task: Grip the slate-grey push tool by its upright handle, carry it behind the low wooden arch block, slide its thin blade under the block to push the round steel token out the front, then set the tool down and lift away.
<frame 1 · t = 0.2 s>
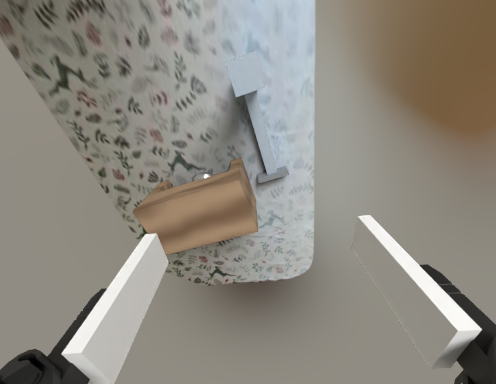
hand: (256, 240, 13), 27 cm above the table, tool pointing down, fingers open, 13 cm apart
steel token: (205, 182, 41), on the table
push tool: (246, 81, 32), on the table
wooden arch block: (208, 191, 42), on the table
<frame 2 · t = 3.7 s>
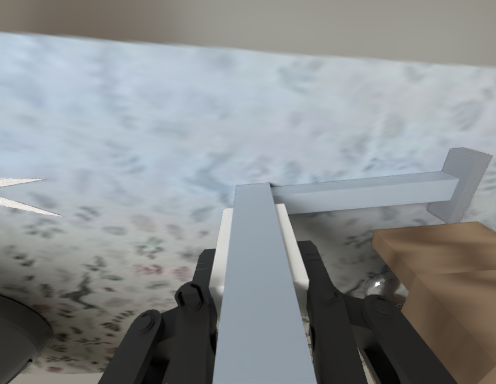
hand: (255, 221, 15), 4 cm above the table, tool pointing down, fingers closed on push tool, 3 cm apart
steel token: (383, 283, 24), on the table
push tool: (253, 198, 18), on the table, touching gripper
wooden arch block: (401, 284, 24), on the table
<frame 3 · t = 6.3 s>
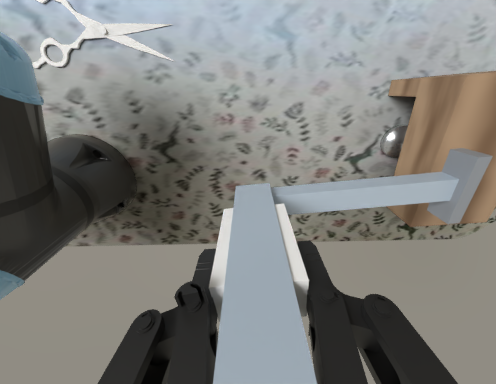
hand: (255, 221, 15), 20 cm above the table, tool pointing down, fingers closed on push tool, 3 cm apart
scissors: (102, 33, 26), on the table
steel token: (395, 140, 32), on the table
push tool: (254, 198, 18), point 17 cm above the table, touching gripper
wooden arch block: (408, 139, 32), on the table
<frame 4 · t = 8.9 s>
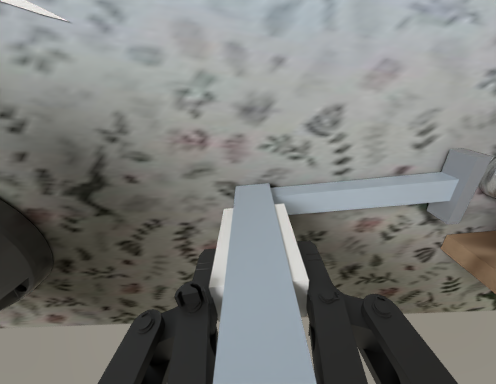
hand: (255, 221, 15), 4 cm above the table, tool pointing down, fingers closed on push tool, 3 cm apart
push tool: (253, 199, 18), on the table, touching gripper
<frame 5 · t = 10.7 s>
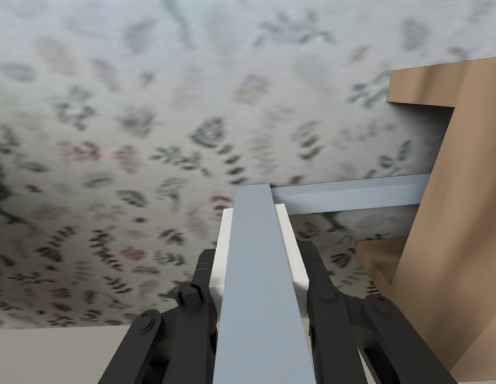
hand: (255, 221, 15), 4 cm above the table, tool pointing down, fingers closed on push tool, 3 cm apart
push tool: (253, 199, 18), point 1 cm above the table, touching gripper, steel token
wooden arch block: (424, 178, 18), on the table
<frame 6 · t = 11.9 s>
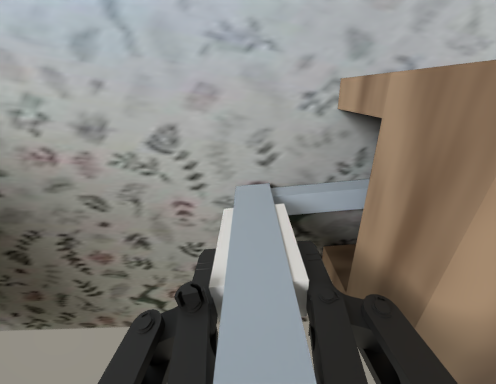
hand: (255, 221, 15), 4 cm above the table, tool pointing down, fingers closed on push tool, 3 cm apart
push tool: (254, 199, 18), on the table, touching gripper, steel token
wooden arch block: (384, 185, 18), on the table
when the fingers open (5 cm above the table, at t = 14.2 s): push tool drops 1 cm, on the table.
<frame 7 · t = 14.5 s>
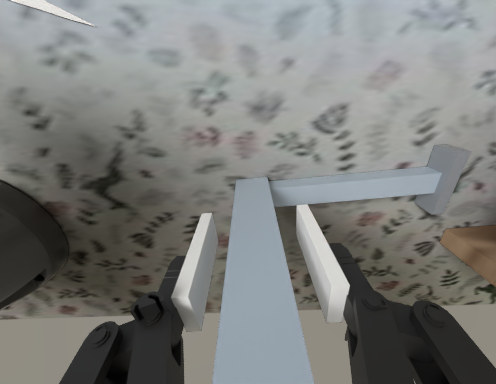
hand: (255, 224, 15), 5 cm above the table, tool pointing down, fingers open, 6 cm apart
push tool: (253, 191, 19), on the table
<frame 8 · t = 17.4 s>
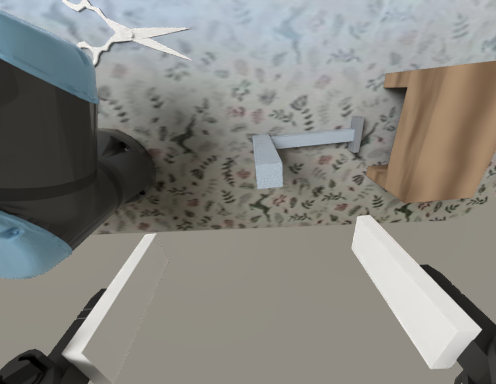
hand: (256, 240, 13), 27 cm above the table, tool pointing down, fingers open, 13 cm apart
scissors: (128, 36, 30), on the table
push tool: (260, 142, 37), on the table
wooden arch block: (403, 127, 35), on the table
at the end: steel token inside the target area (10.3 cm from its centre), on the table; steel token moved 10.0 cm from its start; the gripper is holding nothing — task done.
